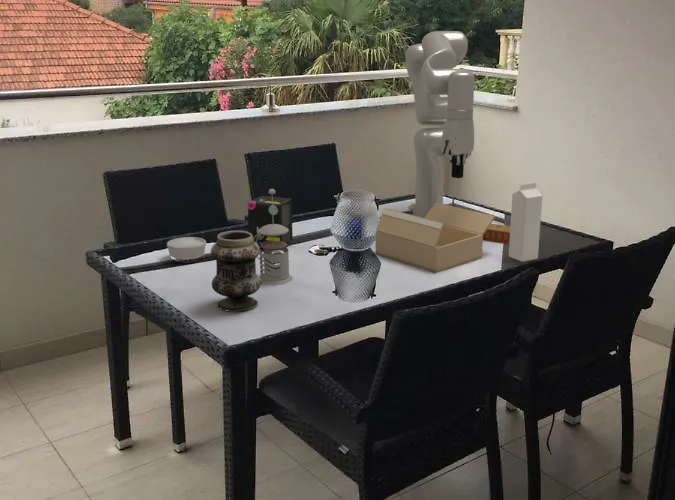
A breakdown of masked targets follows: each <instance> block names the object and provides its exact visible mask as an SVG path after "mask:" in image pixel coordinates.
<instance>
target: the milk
mask: <svg viewBox="0 0 675 500" xmlns="http://www.w3.org/2000/svg"><path fill="white" fill-rule="evenodd" d="M536 183H537V182H532V183H524V184H520V185H519V190H517V191H516V192H514V193H512V194H511V195H512V197H511V209H510V210H511V213H510V225H509V226H510V242H509V244H508V257H509V258H511V259H514V260H517V261H519V262H522V263H523V262H527V261H528V262H529V261H533V260H538V258H539V245H540V237H539V235H541V233H540V232H541V220H542V219H541V217H542V208H543V207H542V206H543V195H542V194H541V192H540V191H539V190H538V188H537V184H536Z"/></svg>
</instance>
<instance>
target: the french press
mask: <svg viewBox="0 0 675 500" xmlns="http://www.w3.org/2000/svg"><path fill="white" fill-rule="evenodd" d="M268 194H269V195H271V197H272V216H273V197H274V196H273V195H275V194H276V190H275V189H274V188H270V189H268ZM288 230H289V229H287V228H286V227H284V226H282V225H278V224H274V222H273V224H268V225H266V226H263V227H261V228H260V229H259V230H258V232H259V233H260V234H262V235H267V236H273V241H268V242H266V243H265V242H264V243H262V244H261V248H263V249H260V253H259V255H258V256H259V257H258V256H257V257H256V259H258V260H259V270H260V271H259V272H260V275H258V276H259V277H260V279H261V283H262V284H263V283H264V284H263V285H265V284H269V285H268V286H278V285H277V284H281V285H286V284H289V283H291V282H292V281H293V280H292V278H293V279H294V277H293V276H292V275H291V274H290V268H289V267H290V264H289V263H290V261H289V260H290V259H289V248H288V246H287V244H286V243H285V242H279V241H274V236H279V235H284V234H286V233H288ZM260 234H257V235H258V236H259V235H260ZM257 235H256V236H257ZM256 236H255V237H256ZM258 236H257V238H258ZM255 237H254V238H255ZM254 238H253V240H254ZM263 238H264V236H263ZM260 239H262V238H261V235H260ZM256 243H257V239H256ZM275 250H280V251H275ZM274 251H275V252H274ZM281 251H282V252H281ZM290 281H291V282H290ZM288 282H289V283H288ZM285 283H286V284H285ZM262 284H261V285H262Z"/></svg>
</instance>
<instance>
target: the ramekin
mask: <svg viewBox="0 0 675 500" xmlns="http://www.w3.org/2000/svg"><path fill="white" fill-rule="evenodd" d="M206 245H207V241H206V240H205V239H204V238H201V237H195V236H183V237H176V238H173V239H170V240H168V241H167V242H166V247H167V249H168V253H169V256H170V255H171V256H172V257H174V258H176V259H183V260H186V259H187V260H189V259H196V258H199V257H201V256H203V255H204V256H205V252H206Z"/></svg>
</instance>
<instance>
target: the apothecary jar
mask: <svg viewBox="0 0 675 500" xmlns="http://www.w3.org/2000/svg"><path fill="white" fill-rule="evenodd" d="M216 239H217V240H216V243H213V245H212V247H211V249H210V254H211V257H212V258H213V259H214V260H215V262H216V275H215V276H214V277H213V278H212V280H211V288H212V290H213V291H214V292H215V293H216V294H219V295H220V296H222V297H225V298H223V299H221V300H219V302H217V308H218V309H220V308H221V309H224V310H228V311H227V312H230V311H239V312H246V311H249V309H250V310H253V309H255V308H256V307H258V304H259V303H258V300H256V299H255V298H254V297H252V296H251V295H254V294H255V293H256V292H257V291H259V290H260V288H261V286H262V284H261V279H260V277H259V276H260V275H258V273H257V263H256V259H257V257H258V256H260V255H259V253H260V247H259V245H258V244H257V243H256V242H254V240H253V236H252V234H251V233H249V232H248V231H245V230H229V231H223V232H220V233H218V234H217V237H216ZM254 307H255V308H254ZM252 308H253V309H252ZM221 309H220V310H221ZM224 310H223V311H224ZM245 310H246V311H245Z"/></svg>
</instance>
